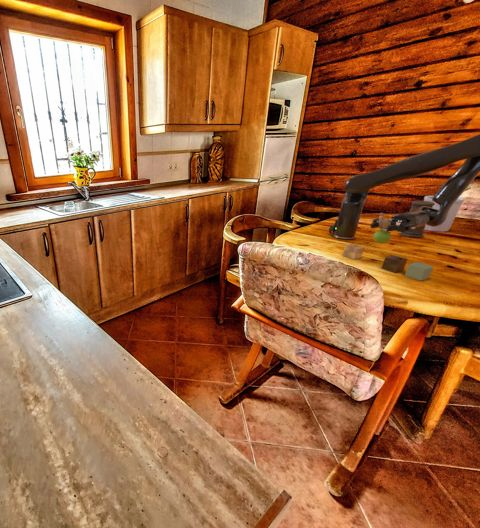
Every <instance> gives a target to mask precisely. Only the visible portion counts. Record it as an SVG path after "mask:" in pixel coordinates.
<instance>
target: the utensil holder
mask: <svg viewBox="0 0 480 528" xmlns="http://www.w3.org/2000/svg"><path fill="white" fill-rule="evenodd" d="M433 196H434V195H426V196H424V198H423V201H429V202H433V203H435V202H434V201H432V198H433ZM464 201H465V199H464V198H462V197H459V198H458V199H457V200H456V201H455V202H454V204H453V205H452V207H451V209H450V211H449V213H448V215H447V218H446V220H445V221H444V222H443V223H442V224H441V225H439V226H436V227H432V226H429V225H425V228H424V231H429V232H437V233H442V232H443V233H444V232H449V231H450V229H451V227H452V225H453V224H454V221H455V219H456V217H457V214H458V212H459V210H460V208H461V206H462V203H464ZM432 208H434V209H437V210H439V209H440V205H439V204H437V203H435V205H434V206H433V207H432Z"/></svg>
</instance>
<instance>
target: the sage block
mask: <svg viewBox="0 0 480 528" xmlns="http://www.w3.org/2000/svg"><path fill="white" fill-rule="evenodd" d="M433 269H434V265H430V264H426V263H423V262H419V261H416V262H412V263H409V264H408V266H407V268H406V271H405V274H404V276H405V277H408V278H411V279H413V280H417V281H420V282H422V281H425V280H427V279H429V278H430V276H431V274H432V272H433Z"/></svg>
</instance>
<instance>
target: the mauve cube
mask: <svg viewBox="0 0 480 528" xmlns="http://www.w3.org/2000/svg"><path fill="white" fill-rule="evenodd" d="M364 249H365V247H364V246H362V245H358V244H354V243H351V244H347V245H344V249H343V252H342V257H345V258H347V259H351V260H356V259H360V258H362V256H363V253H364Z"/></svg>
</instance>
